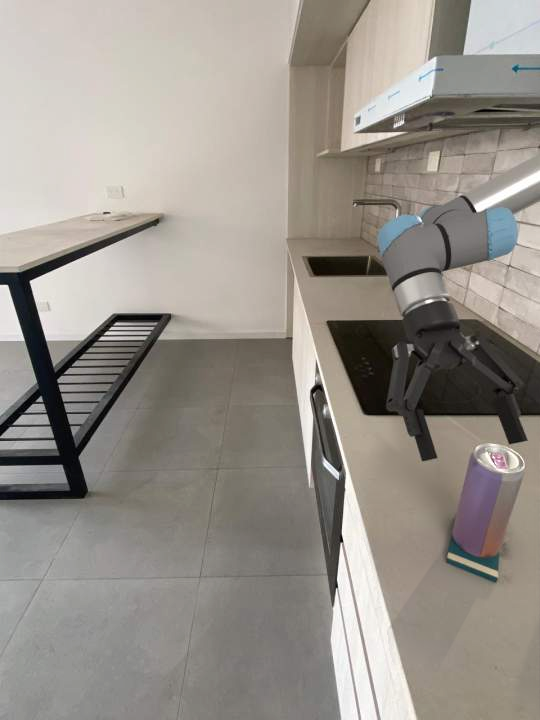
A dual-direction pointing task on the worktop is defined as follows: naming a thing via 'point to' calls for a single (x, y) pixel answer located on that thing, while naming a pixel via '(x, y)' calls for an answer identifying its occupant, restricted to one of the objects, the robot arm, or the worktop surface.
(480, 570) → the teal hardcover book
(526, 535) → the worktop surface
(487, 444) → the beverage can
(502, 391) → the robot arm
